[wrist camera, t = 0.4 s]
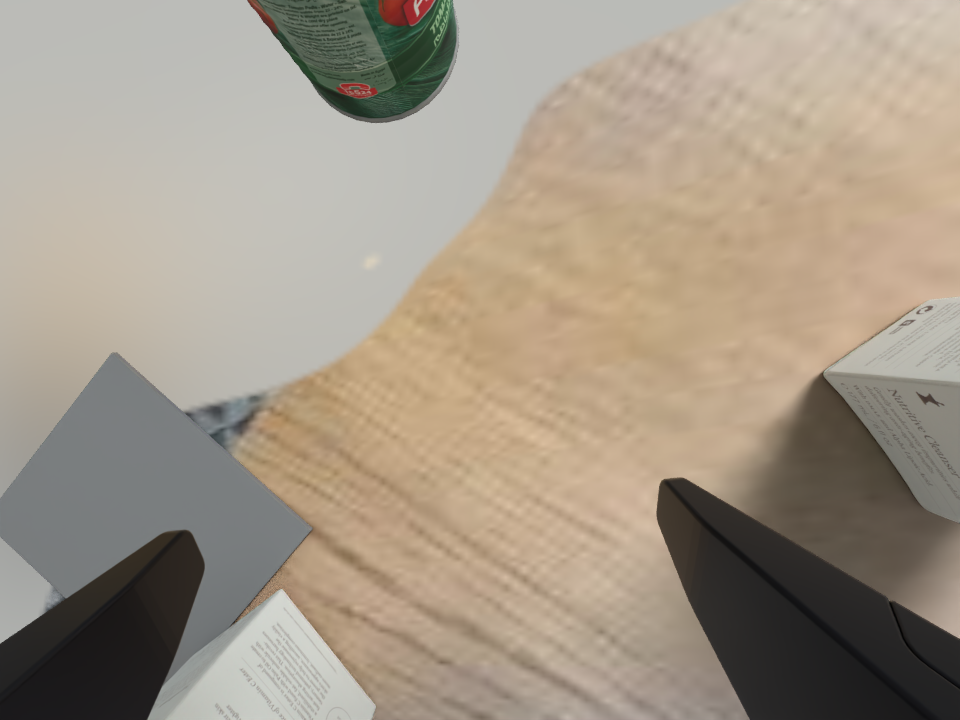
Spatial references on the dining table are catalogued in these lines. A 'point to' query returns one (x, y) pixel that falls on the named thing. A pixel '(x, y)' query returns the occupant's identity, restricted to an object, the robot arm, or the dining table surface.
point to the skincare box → (912, 399)
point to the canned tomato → (368, 51)
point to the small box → (264, 674)
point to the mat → (146, 501)
